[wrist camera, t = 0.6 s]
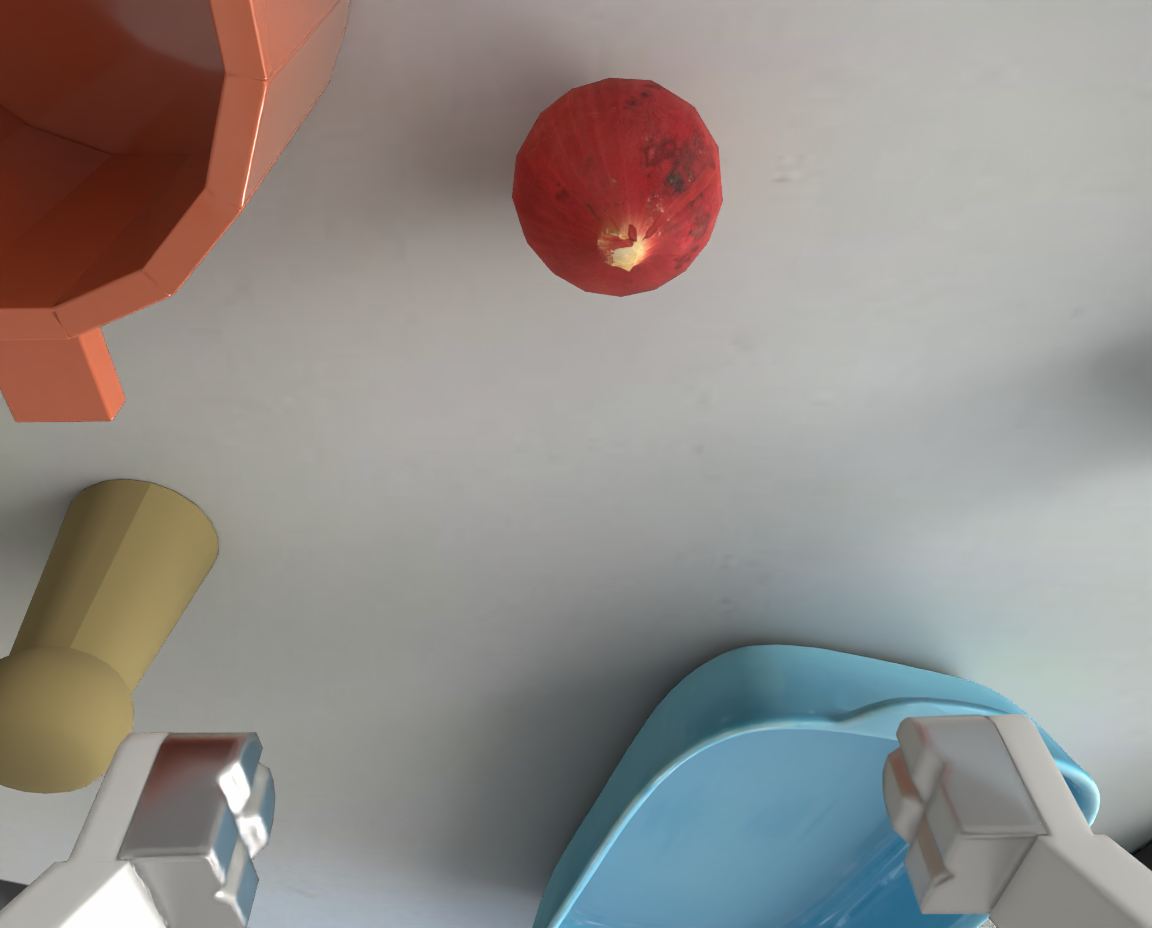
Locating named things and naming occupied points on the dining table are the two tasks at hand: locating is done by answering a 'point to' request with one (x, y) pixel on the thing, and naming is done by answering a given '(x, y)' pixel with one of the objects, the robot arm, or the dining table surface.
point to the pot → (132, 165)
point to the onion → (618, 186)
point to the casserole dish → (766, 800)
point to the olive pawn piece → (97, 630)
